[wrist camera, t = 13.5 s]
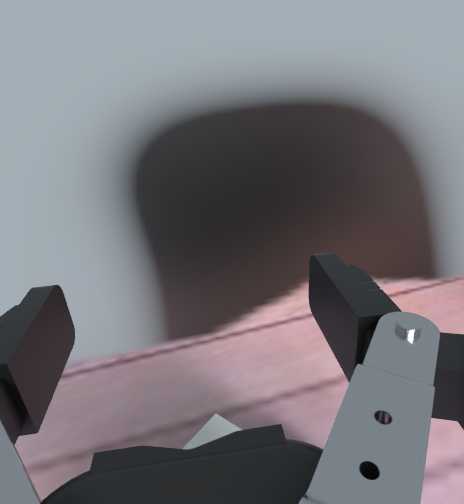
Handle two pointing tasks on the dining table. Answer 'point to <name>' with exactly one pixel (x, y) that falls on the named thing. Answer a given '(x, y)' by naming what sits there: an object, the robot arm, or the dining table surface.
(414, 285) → the dining table surface
